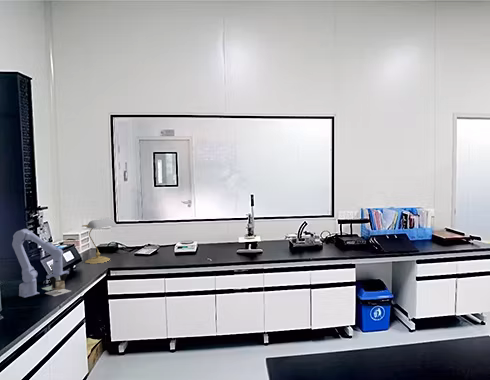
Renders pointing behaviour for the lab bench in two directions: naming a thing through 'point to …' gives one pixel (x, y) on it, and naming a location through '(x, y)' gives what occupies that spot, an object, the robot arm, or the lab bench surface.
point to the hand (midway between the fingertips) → (58, 286)
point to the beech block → (59, 285)
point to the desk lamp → (92, 224)
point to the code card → (58, 292)
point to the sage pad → (48, 288)
